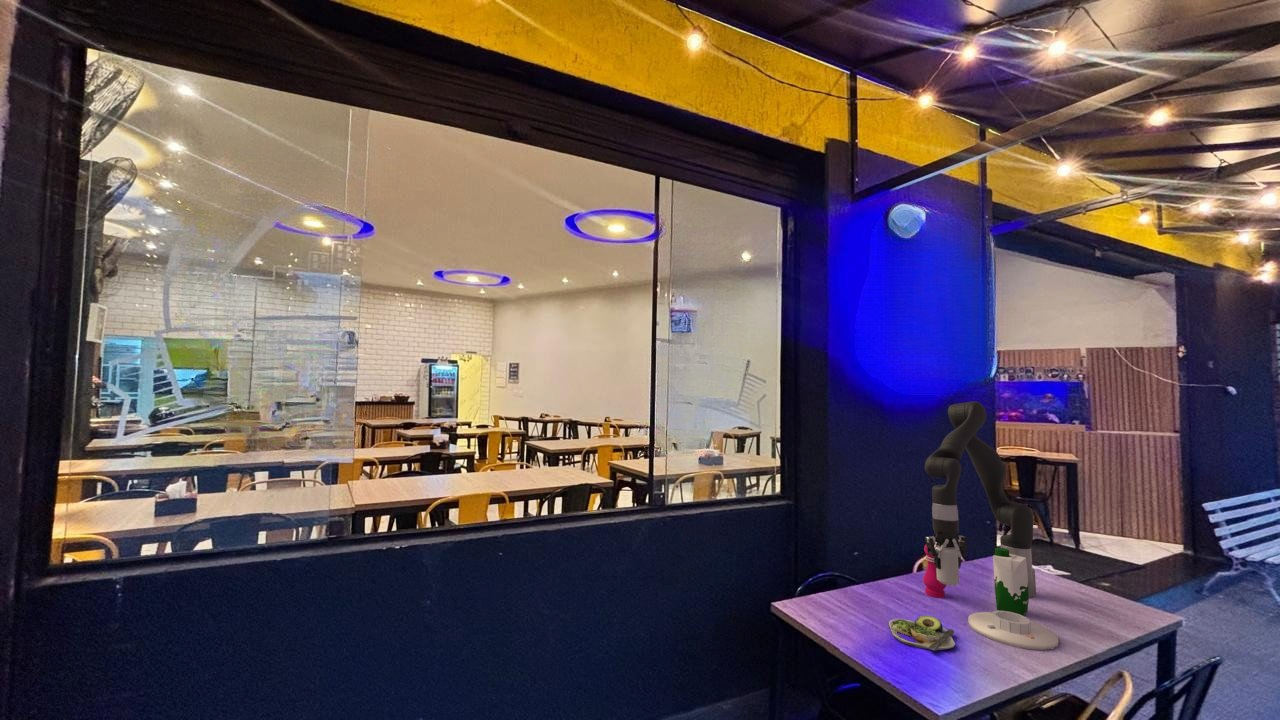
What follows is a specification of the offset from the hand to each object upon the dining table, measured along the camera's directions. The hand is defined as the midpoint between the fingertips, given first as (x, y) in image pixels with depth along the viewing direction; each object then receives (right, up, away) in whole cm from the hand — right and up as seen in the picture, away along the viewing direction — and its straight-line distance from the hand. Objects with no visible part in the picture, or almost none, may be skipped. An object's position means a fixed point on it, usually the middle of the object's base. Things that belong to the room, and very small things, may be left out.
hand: (947, 568), depth 165 cm
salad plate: (-19, -13, -18) cm, 29 cm away
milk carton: (+23, -16, +2) cm, 28 cm away
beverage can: (0, -5, -1) cm, 5 cm away
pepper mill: (+5, -17, +15) cm, 23 cm away
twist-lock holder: (+11, -14, -14) cm, 22 cm away
